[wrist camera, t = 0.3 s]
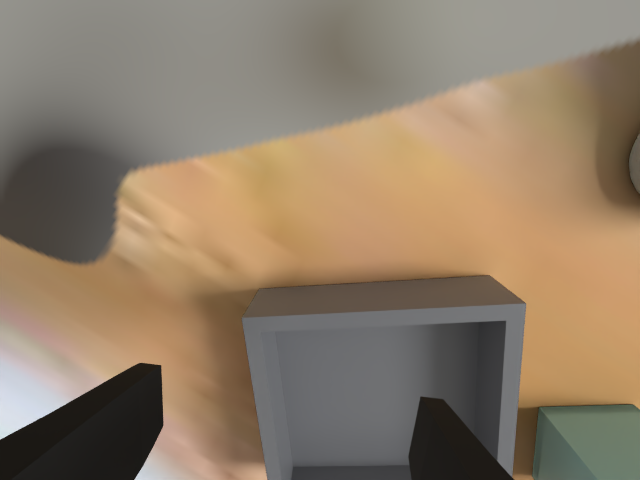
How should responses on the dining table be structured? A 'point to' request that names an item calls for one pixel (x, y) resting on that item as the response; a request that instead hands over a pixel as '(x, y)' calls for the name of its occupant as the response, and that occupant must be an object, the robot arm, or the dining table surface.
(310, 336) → the big crate
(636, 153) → the ceramic mug
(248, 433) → the dining table surface
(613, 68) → the dining table surface
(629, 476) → the small crate
